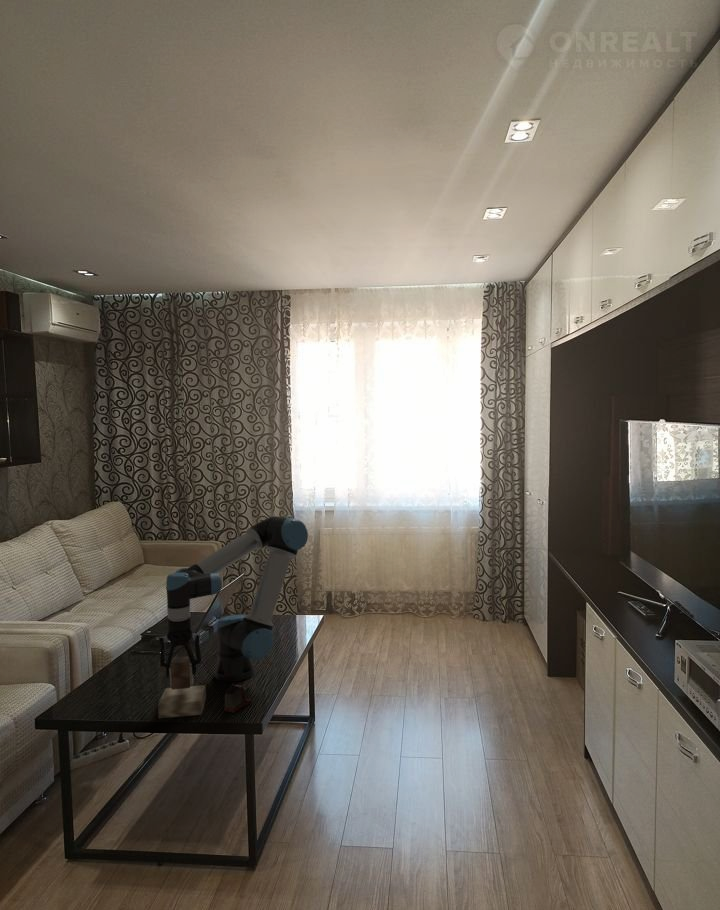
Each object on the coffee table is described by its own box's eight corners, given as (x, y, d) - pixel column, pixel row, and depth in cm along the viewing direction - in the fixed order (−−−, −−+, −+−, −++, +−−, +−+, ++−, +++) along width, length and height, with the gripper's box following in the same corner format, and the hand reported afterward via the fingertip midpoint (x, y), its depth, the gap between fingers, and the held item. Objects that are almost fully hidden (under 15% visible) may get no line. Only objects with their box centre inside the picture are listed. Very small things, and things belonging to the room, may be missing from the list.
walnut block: (191, 681, 226) (190, 656, 225) (189, 687, 220) (188, 661, 219) (174, 682, 225) (172, 657, 224) (171, 689, 219) (170, 663, 218)
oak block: (206, 698, 230) (205, 685, 230) (201, 715, 216) (200, 701, 216) (166, 702, 229) (165, 688, 228) (158, 719, 215) (158, 704, 214)
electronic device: (252, 703, 224) (251, 682, 224) (233, 714, 216) (232, 692, 216) (243, 701, 226) (241, 680, 226) (223, 711, 218) (222, 690, 218)
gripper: (208, 613, 226) (210, 678, 227) (152, 617, 224) (155, 682, 225) (206, 619, 219) (208, 686, 220) (148, 623, 216) (151, 691, 217)
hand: (181, 684), depth 222 cm, fingers closed on walnut block, 6 cm apart
